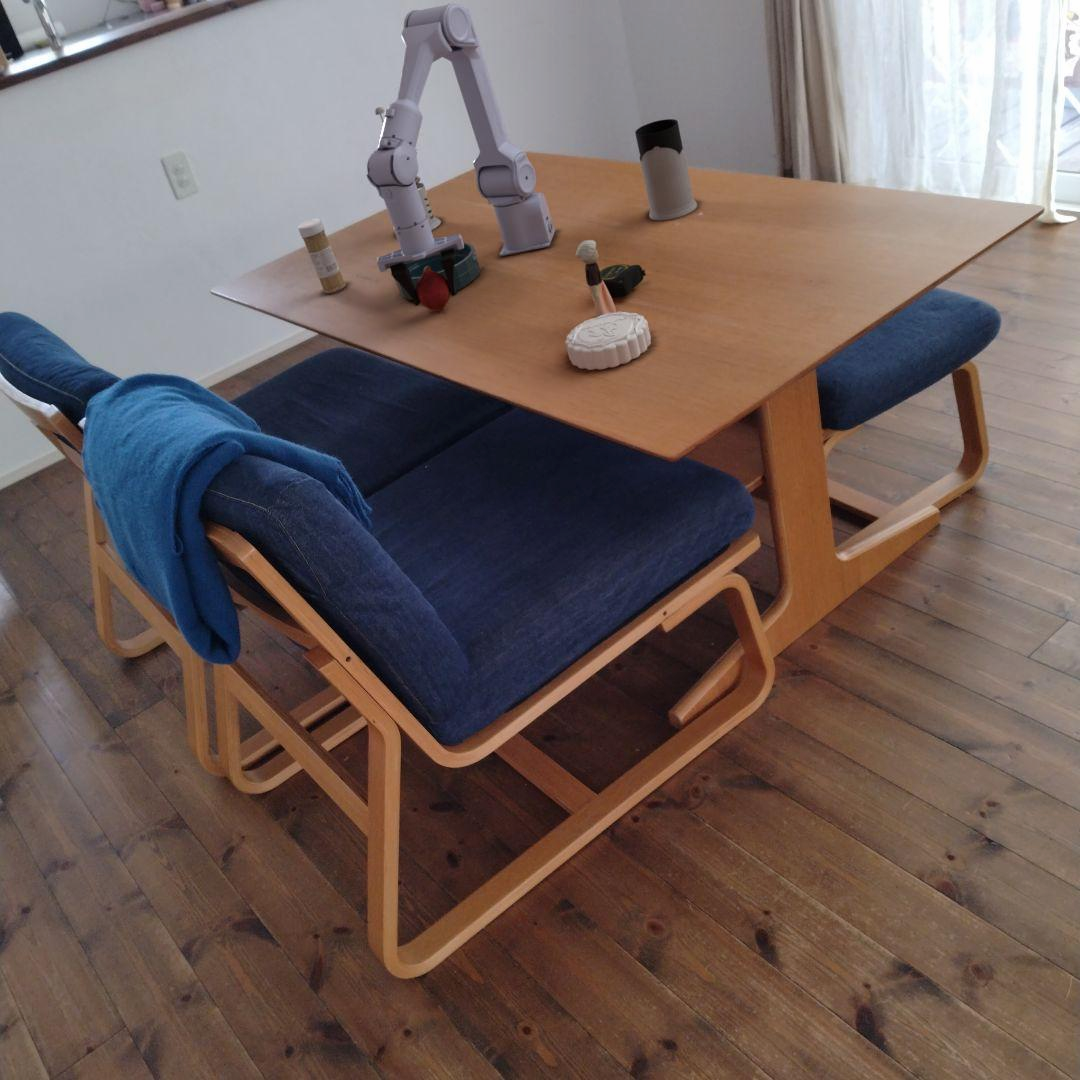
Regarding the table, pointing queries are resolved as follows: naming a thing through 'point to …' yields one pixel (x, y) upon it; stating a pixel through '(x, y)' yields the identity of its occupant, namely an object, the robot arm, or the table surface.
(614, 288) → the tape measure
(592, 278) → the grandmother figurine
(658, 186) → the glass holder
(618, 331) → the mooncake
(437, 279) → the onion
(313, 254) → the sprinkles bottle
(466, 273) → the bowl
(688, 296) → the table surface
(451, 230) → the table surface
